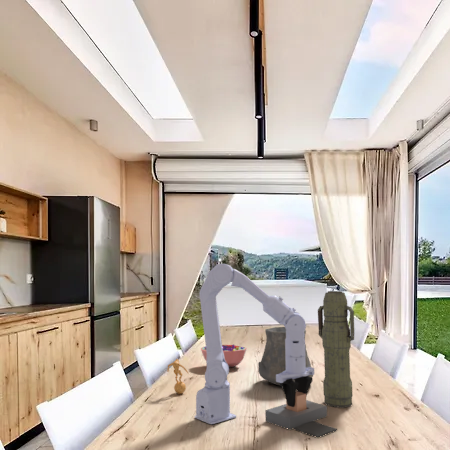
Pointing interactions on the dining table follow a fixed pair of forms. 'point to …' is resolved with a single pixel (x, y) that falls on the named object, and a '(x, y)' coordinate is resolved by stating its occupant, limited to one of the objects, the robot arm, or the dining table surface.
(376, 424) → the dining table surface
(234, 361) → the cell model
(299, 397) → the terracotta block
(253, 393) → the dining table surface
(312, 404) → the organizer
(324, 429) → the coaster
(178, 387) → the figurine
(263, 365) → the vessel
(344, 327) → the thermos
